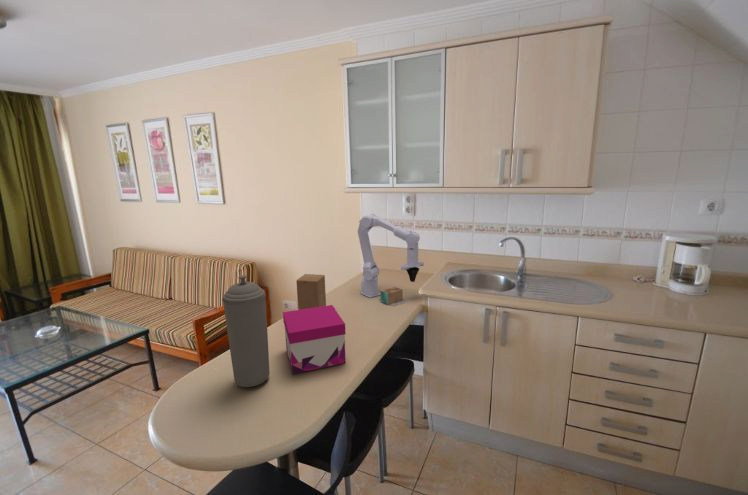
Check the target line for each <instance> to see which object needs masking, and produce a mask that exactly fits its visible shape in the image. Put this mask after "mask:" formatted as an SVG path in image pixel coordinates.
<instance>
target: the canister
mask: <svg viewBox="0 0 748 495" xmlns="http://www.w3.org/2000/svg"><path fill="white" fill-rule="evenodd" d="M237 277H238V279H240V282H237V283H234V284H232V285H230V287H229V288H228V290H226V291H225V293H224V294H223V297H222V299H221V300H222V302H223V310H224V316H225V318H224V319H225V323H226V332H227V338H228V345H229V351H230V359H231V360H230V361H231V365H232V372H233V380H234V384H235V385H236V386H239V387H242V388H252V387H255V386H258V385H261V384H263V383H264V382H265V381H267V379H268V378H270V356H269V339H268V338H269V336H268V320H267V318H268V317H267V302H266V295H267V294H266V291H265V290H264V289H263V288H262V287H261V286H260V285H258V284H257V283H256V282H253V281H246V278H247V277H248V276H247V275H246V274H244V275H243V274H242V275H239V276H237Z"/></svg>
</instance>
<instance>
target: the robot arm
mask: <svg viewBox="0 0 748 495" xmlns="http://www.w3.org/2000/svg"><path fill="white" fill-rule="evenodd" d="M358 222H359V225H358V228H357V234H358V235H357V236H358V239H359V245H360V250H361V254H362V259H363V265H362V269H363V271H362V279H361V283H360V287H361V292H360V295H363V296H365V297H368V298H371V299H372V298H374V297H378V296H380V292H379V277H378V276H379V274H380V268H379V267H378V265H377V263H376V261H375V260H374V256H373V251H372V247H371V241H370V237H369V232H370V231H371V229H372V228H373V227H381V228H384V229H385V230H387V231H389V232H392V233H393V235H394V236H395V237H397V238H399V239H401V240H402V241H405V242H406V245H407V247H406V254H407V255H406V263H405V264H404V265H401V266H400V270H401V271H403V272H404V271H406V272H407V275H408V277H409V281H410V282H412V283H415V282H416V278H417V275H418V273H419V271H420V268H419V267H424V266H425V265H424V264H425V263H424V261H419V241H420V238H421V237H420V234H419V233H417V231H413V230H411V229H410V230H409V229H407V228H405V226H404V225H397V226H396V225H394V224H393V223H391V222H389V221H387V220H386V219H384V218H382V217H381V216H379V215H376V214H373V213H371V214H369V215H363V216H362V217H361V218H360V219H359V221H358Z"/></svg>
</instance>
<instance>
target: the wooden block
mask: <svg viewBox="0 0 748 495" xmlns="http://www.w3.org/2000/svg"><path fill="white" fill-rule="evenodd" d="M325 278H326V276H325V274H315V273H314V274H311V273H309V274H308V273H305V274H303V275H302V276H300V277H299V278H297V279H296V295H297V298H296V299H297V310H301V309H308V308H315V307H321V306H327V298H326V293H327V292H326V279H325Z"/></svg>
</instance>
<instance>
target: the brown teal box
mask: <svg viewBox="0 0 748 495" xmlns="http://www.w3.org/2000/svg"><path fill="white" fill-rule="evenodd" d="M403 292H404V291H403V289H401V288H400V287H397V286H392V287H389V288H385V289H382V290H380V291H379V293H380V295H379V297H380V300H379V301H380V302H381V303H382V304H385V305H387V306H390V305H389V304H393V303H396V302H399V301H402V299H403Z"/></svg>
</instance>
